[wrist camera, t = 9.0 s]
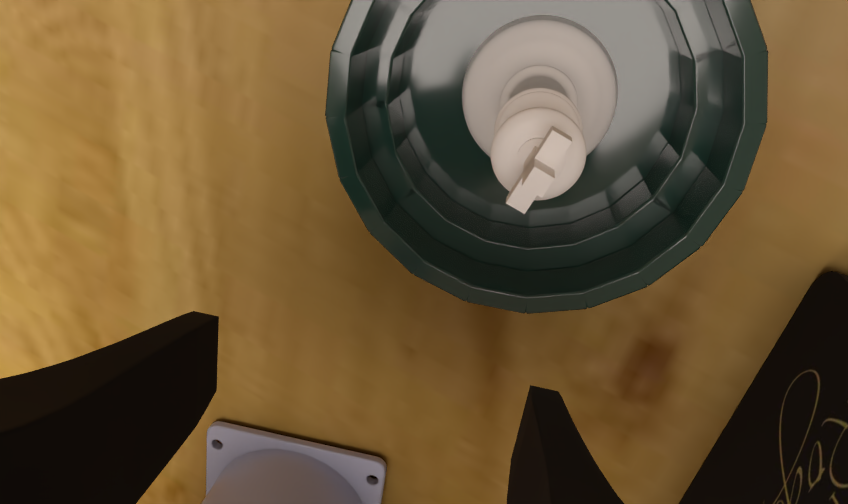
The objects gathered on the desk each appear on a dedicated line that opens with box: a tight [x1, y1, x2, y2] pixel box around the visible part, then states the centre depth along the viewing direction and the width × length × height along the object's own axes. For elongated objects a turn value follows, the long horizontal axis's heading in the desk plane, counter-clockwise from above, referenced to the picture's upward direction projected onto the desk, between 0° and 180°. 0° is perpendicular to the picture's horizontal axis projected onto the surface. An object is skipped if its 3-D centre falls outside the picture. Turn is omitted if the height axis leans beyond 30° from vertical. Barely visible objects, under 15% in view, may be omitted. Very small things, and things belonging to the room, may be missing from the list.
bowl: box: [325, 0, 768, 314], centre depth 20 cm, size 12×12×4 cm
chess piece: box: [462, 15, 618, 214], centre depth 17 cm, size 5×5×10 cm
